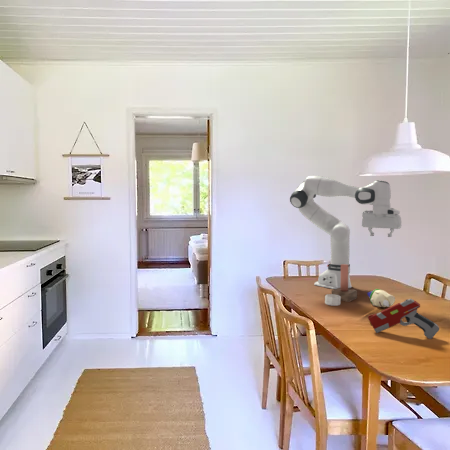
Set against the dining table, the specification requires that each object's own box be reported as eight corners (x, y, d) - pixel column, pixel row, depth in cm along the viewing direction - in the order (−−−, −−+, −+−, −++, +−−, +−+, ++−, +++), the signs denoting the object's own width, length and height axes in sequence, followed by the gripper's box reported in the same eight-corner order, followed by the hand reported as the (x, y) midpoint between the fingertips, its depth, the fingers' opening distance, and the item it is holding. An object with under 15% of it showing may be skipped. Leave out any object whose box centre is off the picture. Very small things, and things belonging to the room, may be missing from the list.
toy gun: (389, 353, 172) (366, 315, 174) (442, 331, 164) (417, 292, 166) (389, 356, 169) (366, 318, 171) (443, 334, 160) (417, 294, 163)
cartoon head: (389, 316, 202) (362, 305, 221) (403, 305, 204) (375, 294, 223) (382, 302, 200) (356, 292, 218) (396, 291, 202) (369, 281, 221)
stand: (331, 299, 224) (331, 290, 224) (339, 296, 232) (339, 287, 231) (349, 302, 218) (349, 293, 217) (356, 299, 225) (357, 290, 225)
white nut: (323, 305, 213) (323, 296, 213) (329, 302, 219) (329, 293, 219) (336, 307, 209) (336, 298, 208) (342, 304, 214) (342, 295, 214)
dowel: (339, 290, 224) (339, 264, 223) (342, 289, 227) (342, 263, 226) (346, 291, 221) (346, 265, 220) (349, 290, 224) (349, 264, 223)
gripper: (360, 210, 227) (359, 235, 228) (398, 211, 214) (398, 238, 215) (364, 210, 232) (364, 234, 233) (402, 211, 219) (402, 237, 220)
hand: (380, 236), depth 224 cm, fingers open, 8 cm apart
